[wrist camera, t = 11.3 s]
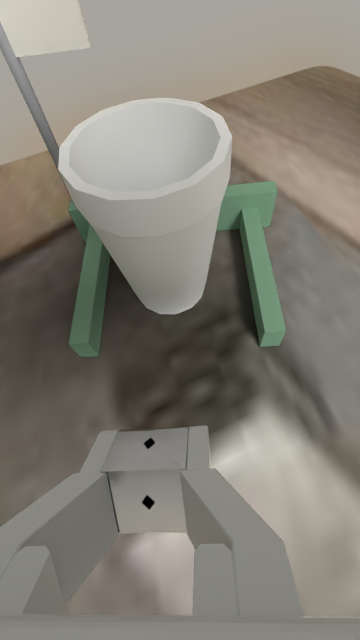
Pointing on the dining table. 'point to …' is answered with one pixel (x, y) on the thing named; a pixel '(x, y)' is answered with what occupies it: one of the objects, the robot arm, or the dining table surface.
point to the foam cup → (152, 192)
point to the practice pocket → (235, 213)
